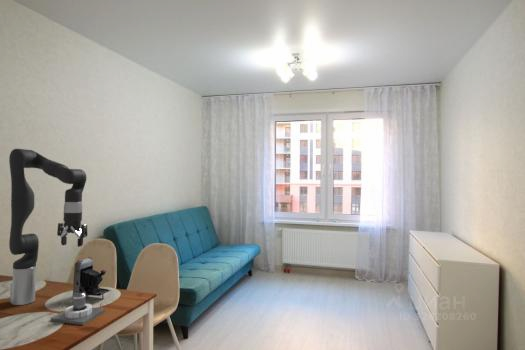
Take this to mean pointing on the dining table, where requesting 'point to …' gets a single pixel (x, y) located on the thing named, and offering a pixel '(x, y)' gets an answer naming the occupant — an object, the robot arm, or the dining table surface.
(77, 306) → the lens
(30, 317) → the dining table surface
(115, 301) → the dining table surface
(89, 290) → the vintage camera
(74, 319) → the mount
